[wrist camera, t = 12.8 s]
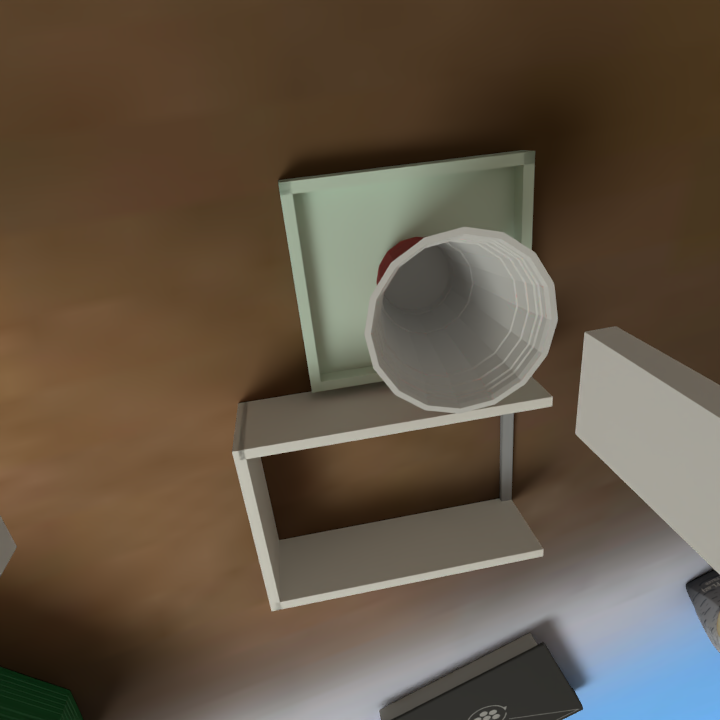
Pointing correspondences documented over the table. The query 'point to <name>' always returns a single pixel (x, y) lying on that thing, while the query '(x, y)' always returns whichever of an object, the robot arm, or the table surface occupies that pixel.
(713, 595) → the juice carton
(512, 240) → the plastic cup
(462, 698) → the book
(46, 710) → the planter
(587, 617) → the table surface
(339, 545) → the frame
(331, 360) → the tray
